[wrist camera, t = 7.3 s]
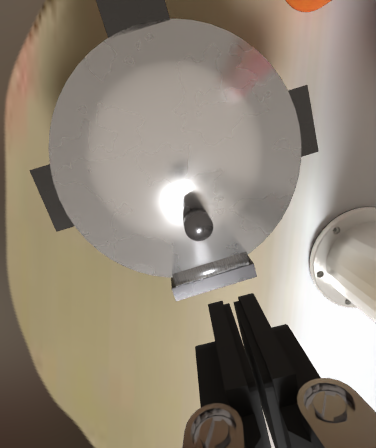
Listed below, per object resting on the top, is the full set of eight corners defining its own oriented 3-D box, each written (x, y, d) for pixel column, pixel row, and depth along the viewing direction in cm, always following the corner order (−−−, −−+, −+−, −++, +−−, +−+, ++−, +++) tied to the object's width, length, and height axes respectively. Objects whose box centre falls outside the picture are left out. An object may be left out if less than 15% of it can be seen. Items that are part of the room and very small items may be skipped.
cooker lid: (255, -67, 19) (271, -104, 16) (312, 239, 25) (331, 252, 22) (-10, 16, 19) (-41, -7, 16) (109, 301, 25) (102, 322, 22)
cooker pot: (254, 44, 30) (300, -6, 20) (290, 219, 35) (341, 250, 25) (46, 108, 30) (-14, 91, 20) (112, 274, 35) (92, 326, 25)
